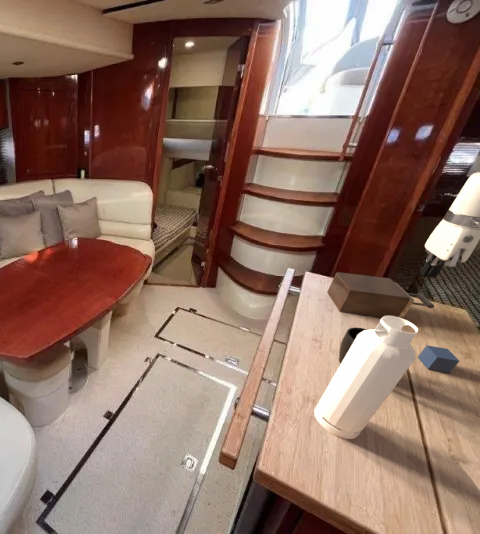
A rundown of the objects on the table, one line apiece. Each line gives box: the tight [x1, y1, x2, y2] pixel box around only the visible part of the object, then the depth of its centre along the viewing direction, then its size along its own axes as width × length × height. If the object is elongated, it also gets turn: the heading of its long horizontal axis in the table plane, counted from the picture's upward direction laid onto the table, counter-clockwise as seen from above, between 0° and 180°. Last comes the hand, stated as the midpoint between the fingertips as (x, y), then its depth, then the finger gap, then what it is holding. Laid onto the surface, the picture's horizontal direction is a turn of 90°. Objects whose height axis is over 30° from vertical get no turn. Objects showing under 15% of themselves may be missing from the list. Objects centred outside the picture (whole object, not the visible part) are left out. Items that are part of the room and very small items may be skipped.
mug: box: [338, 326, 368, 365], centre depth 77 cm, size 8×12×10 cm
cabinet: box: [326, 271, 410, 319], centre depth 101 cm, size 15×12×9 cm
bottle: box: [313, 316, 419, 440], centre depth 60 cm, size 8×8×28 cm
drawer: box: [393, 281, 435, 318], centre depth 99 cm, size 21×10×7 cm, turn 72°
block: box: [417, 344, 460, 374], centre depth 79 cm, size 4×4×4 cm
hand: (427, 275), depth 92 cm, fingers closed
